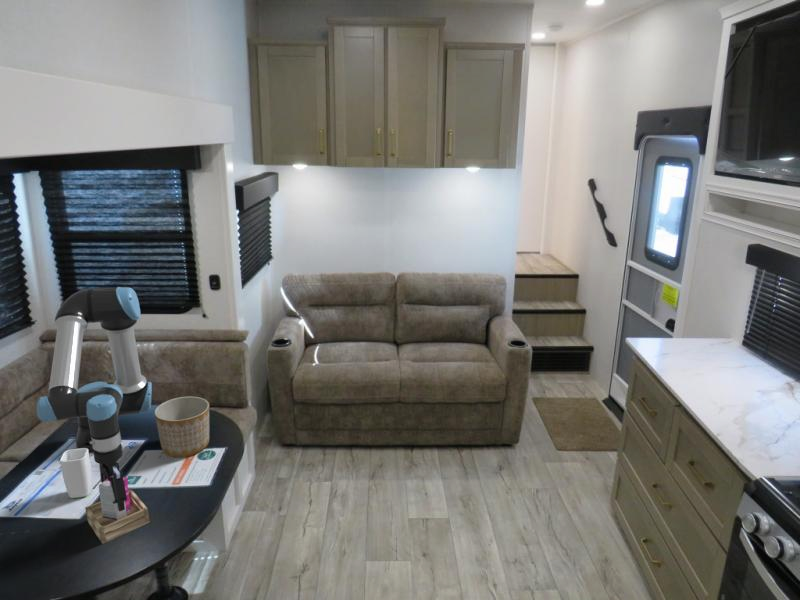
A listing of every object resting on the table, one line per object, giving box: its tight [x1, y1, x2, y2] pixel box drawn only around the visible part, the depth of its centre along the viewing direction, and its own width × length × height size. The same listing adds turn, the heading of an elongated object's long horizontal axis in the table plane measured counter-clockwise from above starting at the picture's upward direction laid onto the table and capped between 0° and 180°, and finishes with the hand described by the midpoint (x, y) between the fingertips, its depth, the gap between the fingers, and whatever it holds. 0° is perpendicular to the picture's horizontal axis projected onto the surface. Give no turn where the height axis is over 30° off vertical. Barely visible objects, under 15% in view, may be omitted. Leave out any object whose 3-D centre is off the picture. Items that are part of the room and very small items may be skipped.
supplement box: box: [98, 476, 131, 520], centre depth 167 cm, size 6×6×12 cm
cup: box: [59, 448, 92, 499], centre depth 180 cm, size 7×7×15 cm
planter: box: [153, 395, 210, 458], centre depth 209 cm, size 19×19×16 cm
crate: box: [84, 488, 150, 545], centre depth 169 cm, size 14×14×5 cm
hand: (116, 511), depth 169 cm, fingers closed on supplement box, 8 cm apart
